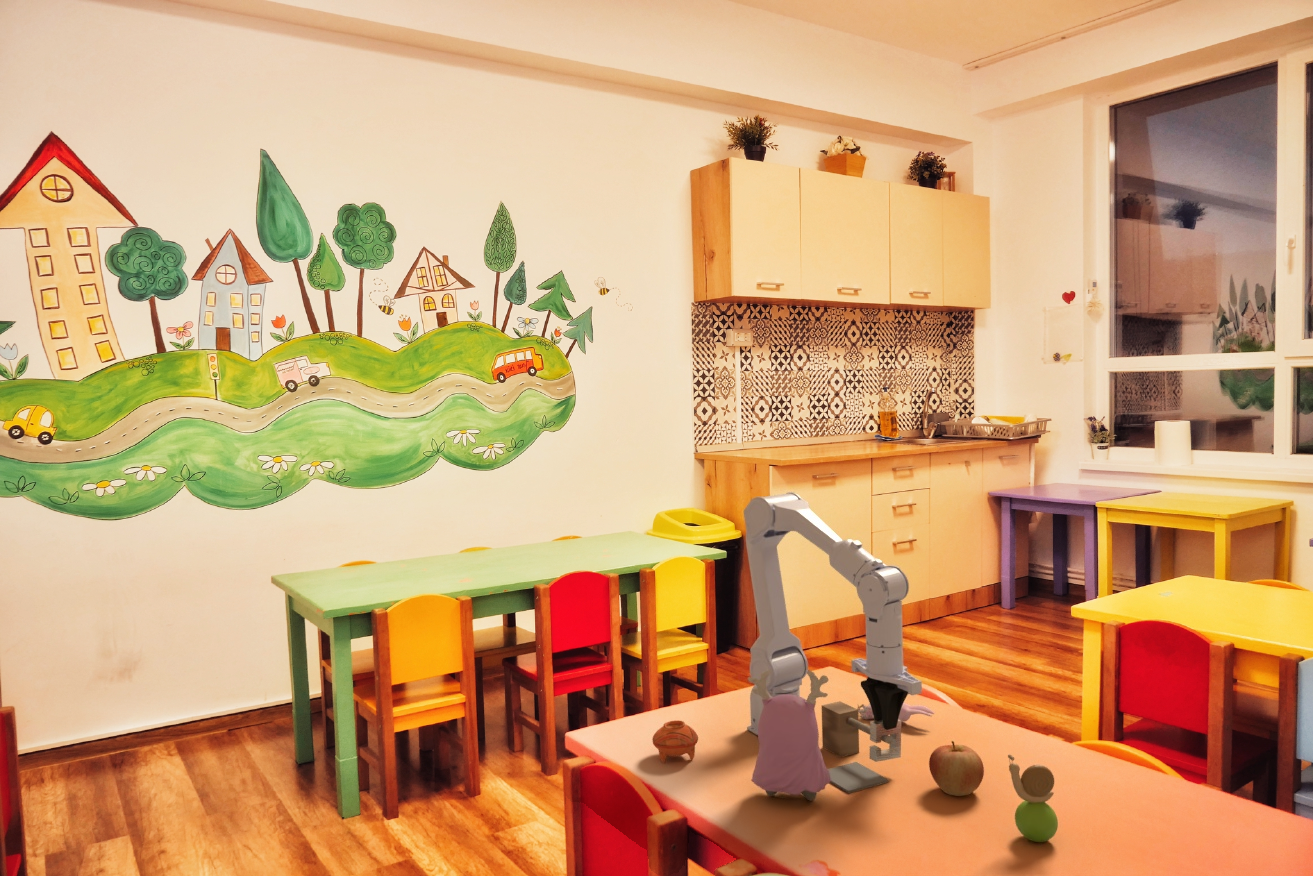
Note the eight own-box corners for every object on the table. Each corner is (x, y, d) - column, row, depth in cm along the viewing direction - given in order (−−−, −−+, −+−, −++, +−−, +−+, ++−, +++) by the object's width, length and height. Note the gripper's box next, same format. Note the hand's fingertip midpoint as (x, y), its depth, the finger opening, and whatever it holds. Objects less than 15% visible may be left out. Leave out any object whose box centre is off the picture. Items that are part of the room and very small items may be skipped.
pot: (678, 770, 148) (669, 729, 148) (648, 768, 153) (640, 729, 154) (712, 755, 153) (703, 715, 154) (682, 753, 159) (674, 715, 160)
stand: (822, 747, 156) (821, 705, 156) (840, 742, 158) (839, 701, 157) (882, 780, 142) (881, 734, 142) (901, 775, 144) (900, 729, 143)
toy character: (835, 787, 140) (832, 662, 139) (825, 817, 130) (822, 682, 130) (759, 778, 144) (756, 657, 143) (745, 807, 134) (740, 676, 134)
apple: (927, 799, 135) (926, 748, 135) (931, 778, 142) (930, 729, 142) (983, 807, 132) (982, 754, 132) (984, 784, 139) (984, 734, 139)
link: (869, 758, 143) (870, 721, 143) (894, 753, 145) (894, 717, 145) (875, 761, 142) (876, 724, 142) (900, 757, 144) (901, 720, 144)
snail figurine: (1001, 832, 124) (999, 747, 124) (1045, 828, 125) (1043, 744, 124) (1020, 851, 119) (1018, 763, 118) (1066, 848, 119) (1065, 760, 119)
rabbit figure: (851, 728, 168) (929, 729, 160) (845, 696, 169) (923, 696, 160) (863, 717, 173) (939, 718, 165) (858, 687, 174) (933, 686, 165)
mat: (817, 774, 145) (817, 772, 145) (856, 764, 149) (856, 761, 149) (848, 793, 138) (848, 790, 138) (888, 781, 141) (888, 779, 141)
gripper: (935, 649, 138) (937, 735, 139) (873, 629, 151) (875, 708, 152) (900, 657, 135) (902, 745, 136) (840, 635, 148) (842, 716, 149)
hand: (886, 726), depth 144 cm, fingers closed on link, 1 cm apart
